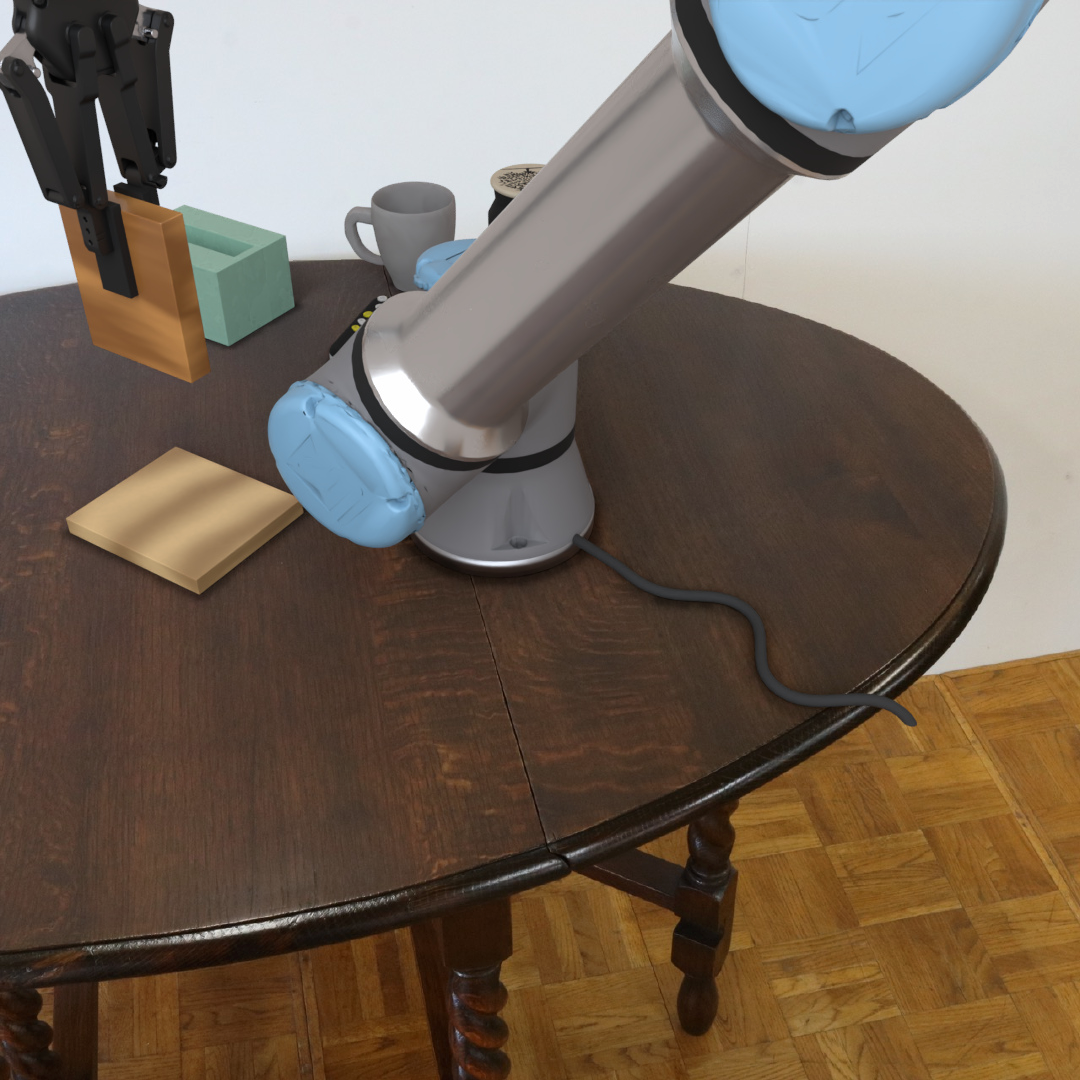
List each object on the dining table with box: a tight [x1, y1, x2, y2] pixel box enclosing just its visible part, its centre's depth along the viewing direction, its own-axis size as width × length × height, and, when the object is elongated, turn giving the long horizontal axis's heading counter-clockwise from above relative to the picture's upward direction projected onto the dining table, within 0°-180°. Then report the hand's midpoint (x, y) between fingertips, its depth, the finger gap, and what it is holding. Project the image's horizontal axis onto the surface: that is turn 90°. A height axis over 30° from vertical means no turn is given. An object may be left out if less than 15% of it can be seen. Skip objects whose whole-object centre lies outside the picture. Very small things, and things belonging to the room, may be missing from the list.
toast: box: [57, 189, 212, 384], centre depth 83 cm, size 2×10×12 cm, turn 58°
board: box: [65, 446, 304, 596], centre depth 95 cm, size 14×12×2 cm
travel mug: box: [487, 163, 546, 227], centre depth 112 cm, size 8×8×18 cm
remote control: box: [328, 295, 391, 360], centre depth 119 cm, size 6×13×2 cm, turn 163°
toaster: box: [173, 204, 295, 347], centre depth 122 cm, size 10×16×8 cm, turn 59°
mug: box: [343, 181, 457, 293], centre depth 127 cm, size 12×9×10 cm
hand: (135, 283), depth 83 cm, fingers closed on toast, 2 cm apart
